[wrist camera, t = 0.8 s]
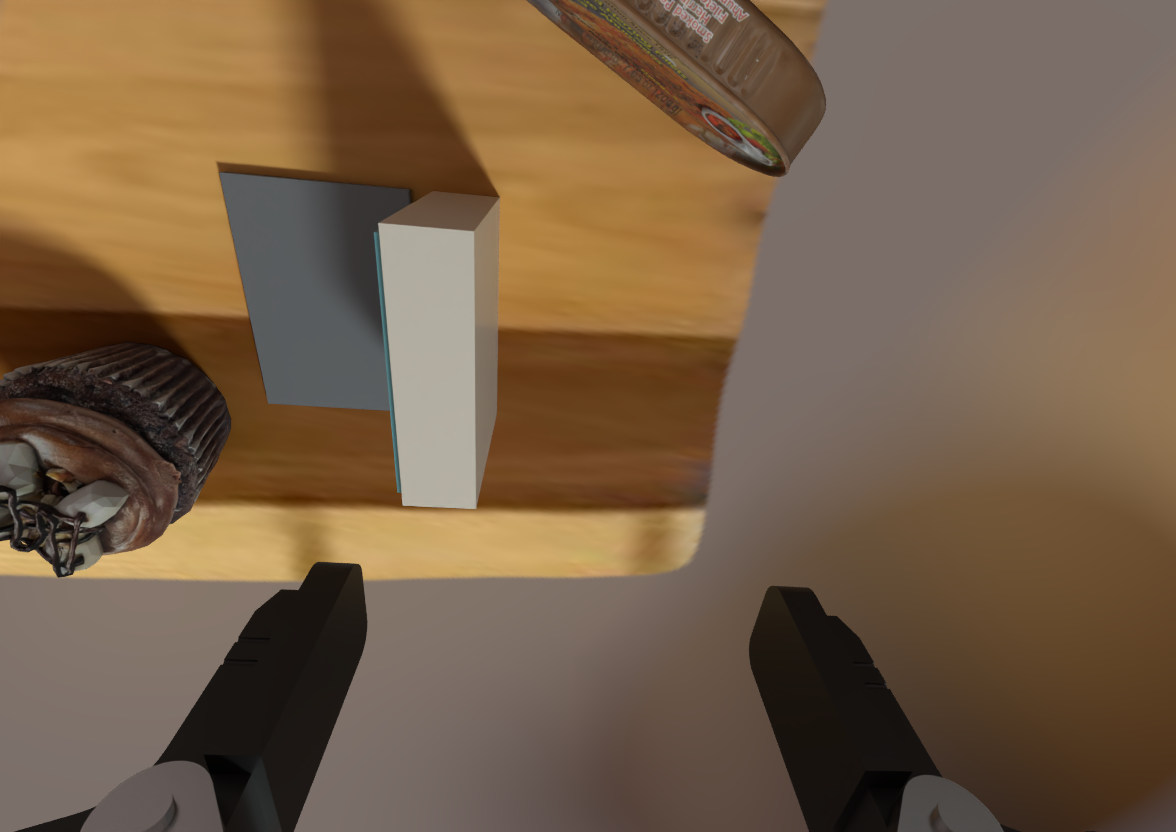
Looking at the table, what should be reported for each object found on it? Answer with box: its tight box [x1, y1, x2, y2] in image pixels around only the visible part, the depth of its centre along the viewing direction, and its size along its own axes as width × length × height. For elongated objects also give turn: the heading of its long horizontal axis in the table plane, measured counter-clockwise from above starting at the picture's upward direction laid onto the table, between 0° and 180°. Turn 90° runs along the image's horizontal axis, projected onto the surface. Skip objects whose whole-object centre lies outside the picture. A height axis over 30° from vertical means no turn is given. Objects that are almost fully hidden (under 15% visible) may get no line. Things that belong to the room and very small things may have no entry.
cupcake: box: [0, 342, 231, 577], centre depth 27 cm, size 10×10×10 cm
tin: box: [527, 0, 826, 177], centre depth 20 cm, size 15×3×8 cm, turn 56°
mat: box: [219, 172, 411, 411], centre depth 28 cm, size 12×8×1 cm
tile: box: [374, 191, 500, 509], centre depth 25 cm, size 12×4×9 cm, turn 175°
